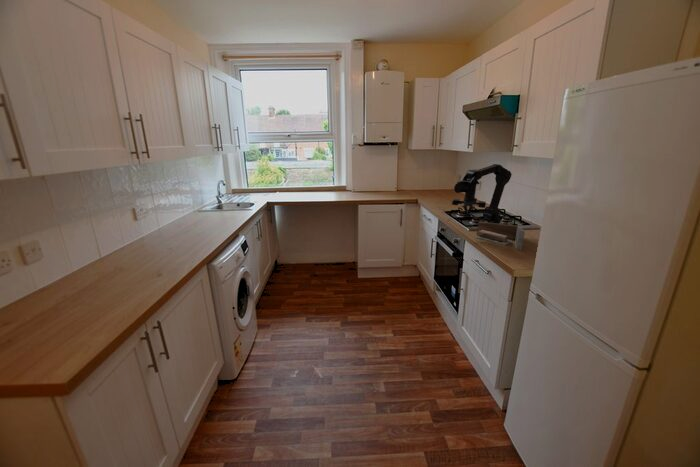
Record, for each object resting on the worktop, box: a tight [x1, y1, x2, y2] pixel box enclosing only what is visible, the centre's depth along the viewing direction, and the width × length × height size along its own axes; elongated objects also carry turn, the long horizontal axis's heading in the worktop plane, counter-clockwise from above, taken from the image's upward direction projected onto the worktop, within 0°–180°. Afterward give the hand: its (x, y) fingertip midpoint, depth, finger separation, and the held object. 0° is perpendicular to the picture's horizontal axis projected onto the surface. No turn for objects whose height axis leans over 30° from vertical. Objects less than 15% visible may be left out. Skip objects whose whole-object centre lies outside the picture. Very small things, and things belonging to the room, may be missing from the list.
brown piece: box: [476, 221, 526, 251], centre depth 177 cm, size 21×24×10 cm
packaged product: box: [475, 230, 513, 247], centre depth 180 cm, size 18×5×10 cm
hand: (466, 216), depth 185 cm, fingers closed
